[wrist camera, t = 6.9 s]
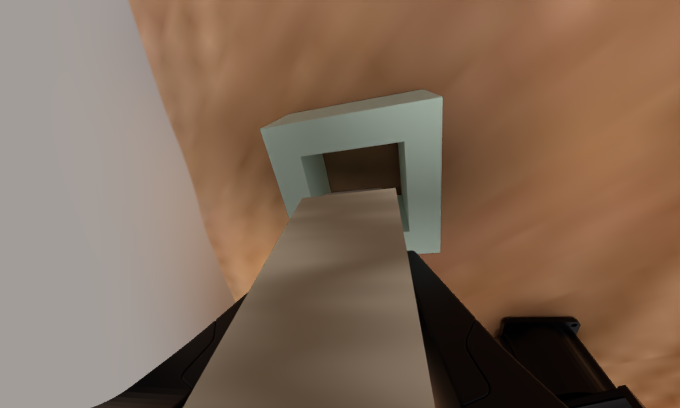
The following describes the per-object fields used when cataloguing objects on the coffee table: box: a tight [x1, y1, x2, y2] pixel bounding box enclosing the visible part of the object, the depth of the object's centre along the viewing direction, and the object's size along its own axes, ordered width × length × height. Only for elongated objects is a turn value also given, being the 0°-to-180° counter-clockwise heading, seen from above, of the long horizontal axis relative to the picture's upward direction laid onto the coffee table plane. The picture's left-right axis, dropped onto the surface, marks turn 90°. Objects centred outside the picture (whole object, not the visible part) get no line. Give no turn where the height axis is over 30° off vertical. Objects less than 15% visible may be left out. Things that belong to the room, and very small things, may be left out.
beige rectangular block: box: [183, 187, 435, 408], centre depth 8 cm, size 4×4×10 cm
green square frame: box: [260, 89, 443, 254], centre depth 16 cm, size 9×9×5 cm
